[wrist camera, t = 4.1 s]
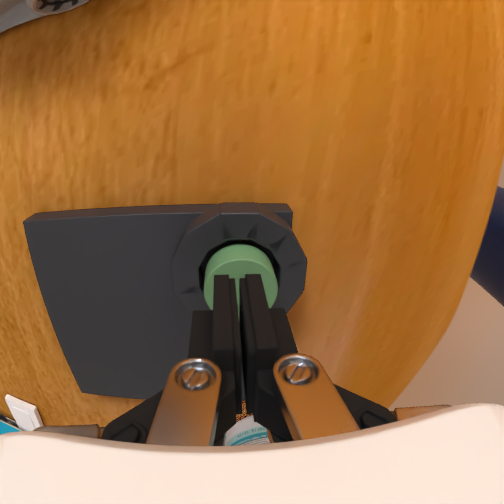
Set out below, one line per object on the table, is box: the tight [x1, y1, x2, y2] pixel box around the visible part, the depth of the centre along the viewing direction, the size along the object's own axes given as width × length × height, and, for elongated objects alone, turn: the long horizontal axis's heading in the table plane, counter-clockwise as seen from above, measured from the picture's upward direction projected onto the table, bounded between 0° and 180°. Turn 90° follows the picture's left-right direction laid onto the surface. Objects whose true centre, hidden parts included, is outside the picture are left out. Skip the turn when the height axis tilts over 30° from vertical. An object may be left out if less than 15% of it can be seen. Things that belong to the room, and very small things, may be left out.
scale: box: [23, 203, 307, 401], centre depth 16 cm, size 14×13×3 cm
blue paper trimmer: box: [0, 394, 44, 435], centre depth 22 cm, size 20×12×2 cm, turn 74°
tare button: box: [204, 244, 278, 317], centre depth 13 cm, size 3×3×2 cm
